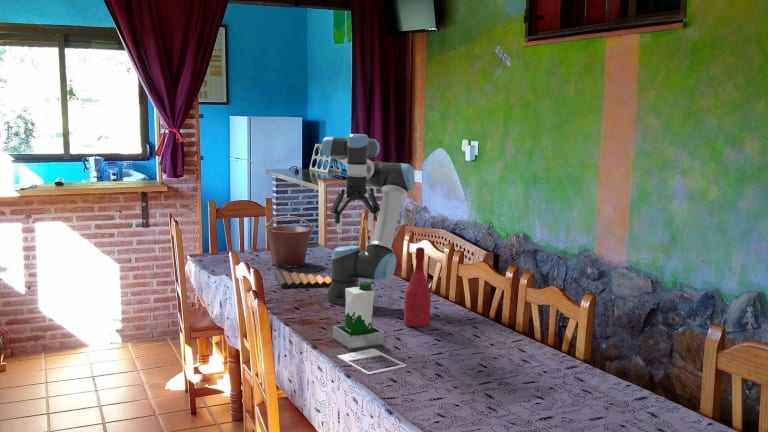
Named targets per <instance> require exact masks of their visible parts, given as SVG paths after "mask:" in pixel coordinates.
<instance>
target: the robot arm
mask: <svg viewBox="0 0 768 432" xmlns="http://www.w3.org/2000/svg"><path fill="white" fill-rule="evenodd" d="M380 147H381V146H380V143H379V142H378V141H377V139H374V138H370V137H369V136H368V135H367V134H365V133H363V134H362V133H361V134H360V133H351V134H348V135H347V137H340V136H338V137H337V136H326V137H324V138H323V139H322V141H321V152H322V154H323V155H324V156H327V157H334V158H335V159H336V160H338V161H339V162H340V163H341V164H343V165H344V166H345V167H346V174H347V176H346V188H342V187H340V188H338V193H337V196H336V198H335V201H334V203H332V204H333V205H332V206H331V209H330V213H331V214H334V218H335V219H334V223H335V224H336V232H337V233H340V234H342V232H343V215H342V213H343V211H344V210H345V209H346V208H347V206H348V205H349V203H351V202H352V201H362V203H363V204H364V205H365V206H366V208H367V210H368V211H369V212H368V213H367V214H368V217H367V230H368V231H373V235H372V239H371V242H370V243H368V244H367V245H366V249H365V250H361V247H360V245H343V246H337V247H336V248H334V249H333V250H332V255H331V285H330V287H329V286H328V287H329V288H328V291H327V294H326V302H328V303H331V304H334V305H343V306H346V293H345V288H352V287H360V279H363V280H370V281H371V280H372V281H376V282H381V281H382V282H386V281H389V280H390V279H391V278H392V276H393V275H394V273H395V271H396V267H397V257H396V255H395V253H394V249H392V245H393V241H394V237H395V233H396V229H397V224H398V220H399V216H400V211H401V208H402V203H403V199H404V198H406V197H407V196H408V193H409V192H412V191H413V190H414V188H415V172H414V169H413V167H412V165H411V164H409V163H403V162H400V163H398V162H397V163H396V162H384V161H373V160H371V159H372V158H375V157H377V156H378V155H379V153H380V150H381V148H380ZM367 185H368V186H369V187H367ZM375 188H376V189H380V191H381V193H383V194H382V198H381V203H380V205H379V203H378V201H377V198H376V196H375V194H374V189H375ZM366 194H367V195H368V197H369V199H368V198H367V196H366ZM345 195H346V196H345ZM344 196H345V197H344ZM369 200H370V201H369ZM377 213H378V214H377ZM376 214H377V217H376ZM376 218H377V219H376ZM374 222H376V223H375V228H374Z"/></svg>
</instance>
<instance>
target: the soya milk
mask: <svg viewBox="0 0 768 432" xmlns="http://www.w3.org/2000/svg"><path fill="white" fill-rule="evenodd" d="M359 286H360V287H352V288H345V293H346V305H345V316H344V317H345V318H344V319H345V320H344V325H345V332H346V333H347V334H349V335H351V336H355V335H362V334H369V333H372V326H373V307H374V300H375V299H374V297H375V293H376V292H375V290H373V288H372V282H369V281H362V282H359Z"/></svg>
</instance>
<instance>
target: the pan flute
mask: <svg viewBox="0 0 768 432" xmlns="http://www.w3.org/2000/svg"><path fill="white" fill-rule="evenodd" d="M274 275H275V278H276V279H277V282H278V284H279V285H280V287H281V289H288V288H290V289H296V288H297V289H298V288H301V289H302V288H303V289H304V287H305V288H306V287H308V288H320V287H321V288H327V287H330V285H331V279H332V277H331V276H329V275H326V277H323V275H320V274H318V275H316V276H315V275H314V274H312V273H310V274H308V275H307V274H305V273H303V272H302V273H300V274H298V273H297V272H295V271H294V272H292V273H290V272H289V271H287V270H285V271H284V272H282V271H280V270H279V269H277V270H276V271H274ZM296 285H297V286H296Z"/></svg>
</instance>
